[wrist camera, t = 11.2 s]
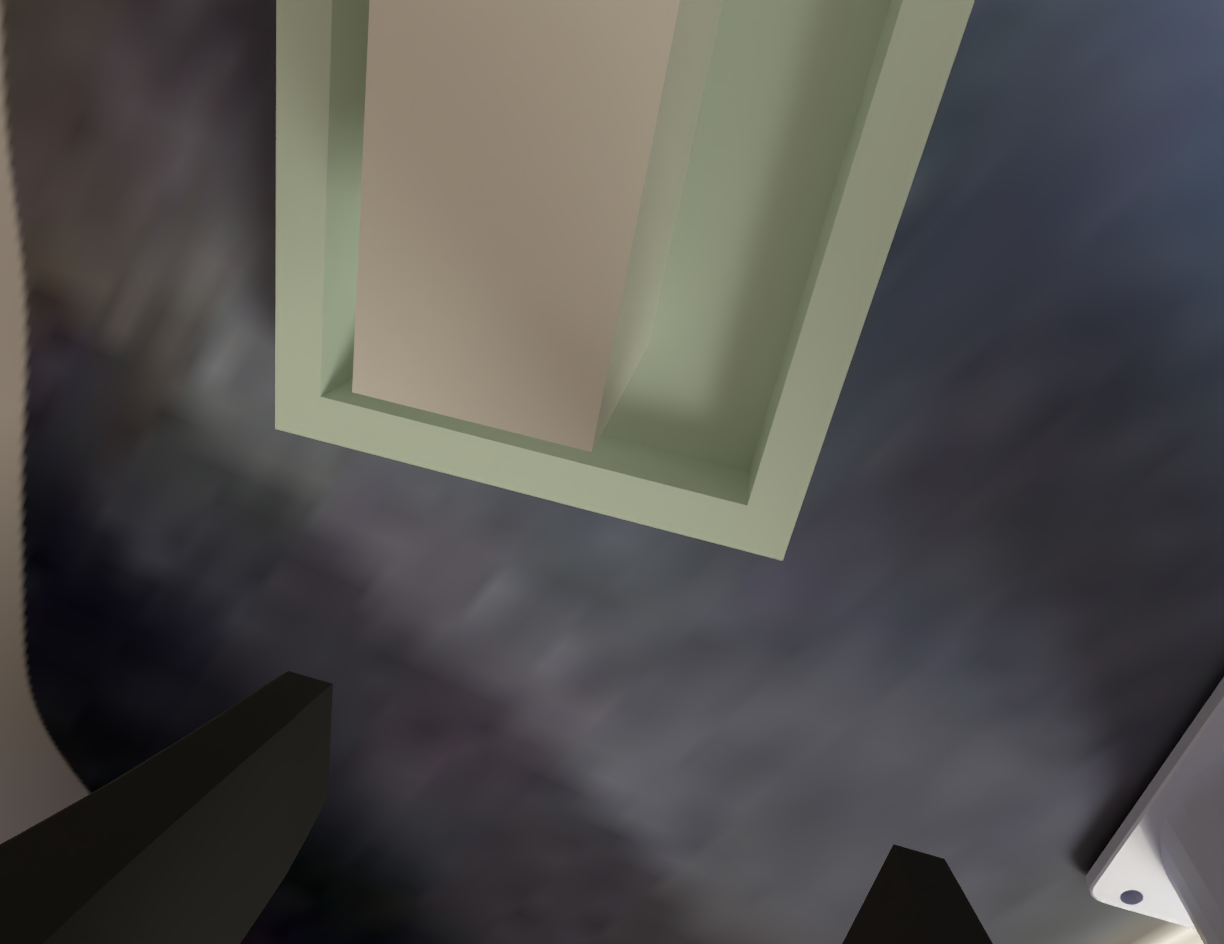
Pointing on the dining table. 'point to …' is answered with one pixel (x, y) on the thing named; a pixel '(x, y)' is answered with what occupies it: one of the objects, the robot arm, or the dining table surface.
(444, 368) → the beige rectangular block
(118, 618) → the dining table surface
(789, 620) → the dining table surface
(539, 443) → the tray
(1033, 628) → the dining table surface
